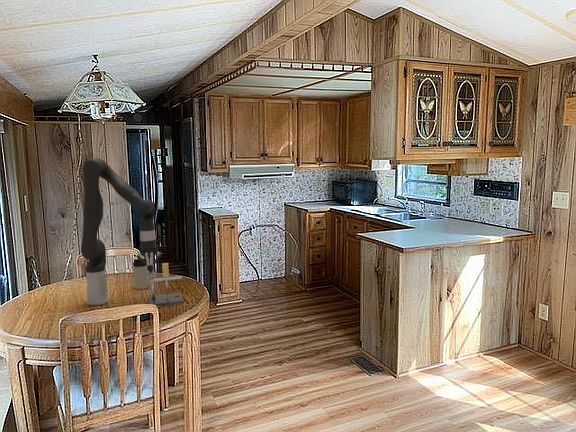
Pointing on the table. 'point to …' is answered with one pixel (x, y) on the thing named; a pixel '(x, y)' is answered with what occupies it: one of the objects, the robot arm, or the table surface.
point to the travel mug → (140, 274)
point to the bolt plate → (163, 299)
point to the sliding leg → (165, 274)
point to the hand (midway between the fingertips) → (150, 271)
